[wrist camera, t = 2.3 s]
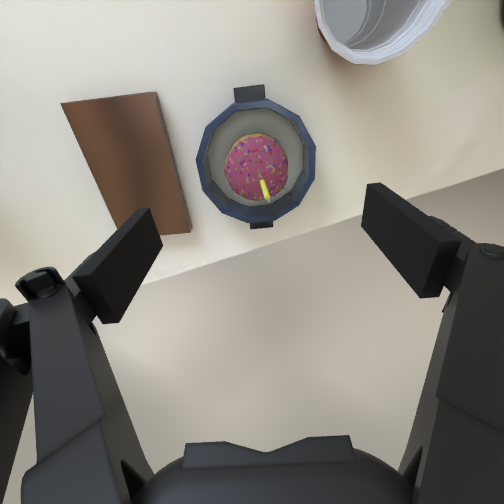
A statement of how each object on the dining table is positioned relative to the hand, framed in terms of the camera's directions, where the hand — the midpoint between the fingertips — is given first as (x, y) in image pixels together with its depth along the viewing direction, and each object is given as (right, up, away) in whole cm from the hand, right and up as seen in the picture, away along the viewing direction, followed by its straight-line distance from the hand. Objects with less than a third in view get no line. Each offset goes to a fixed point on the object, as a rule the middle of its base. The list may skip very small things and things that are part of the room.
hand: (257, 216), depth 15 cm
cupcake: (0, +11, +22) cm, 24 cm away
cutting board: (-18, +10, +22) cm, 30 cm away
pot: (0, +11, +21) cm, 24 cm away
